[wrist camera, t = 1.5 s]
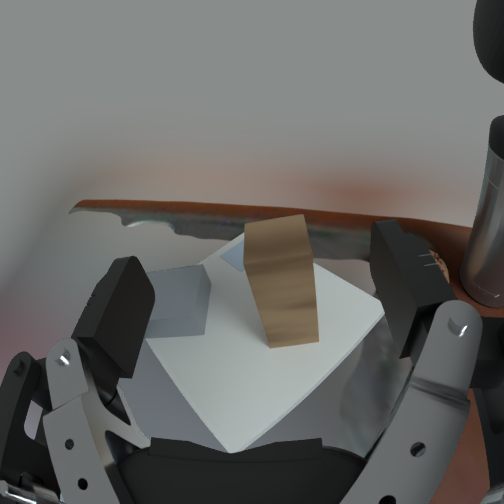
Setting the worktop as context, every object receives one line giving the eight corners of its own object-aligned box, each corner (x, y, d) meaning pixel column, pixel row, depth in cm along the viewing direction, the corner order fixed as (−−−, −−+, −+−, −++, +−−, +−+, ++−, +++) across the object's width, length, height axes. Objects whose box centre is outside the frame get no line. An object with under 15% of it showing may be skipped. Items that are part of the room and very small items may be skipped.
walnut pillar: (268, 310, 33) (244, 223, 25) (313, 304, 32) (303, 214, 24) (270, 348, 29) (243, 263, 21) (319, 341, 28) (312, 252, 21)
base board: (251, 232, 46) (245, 208, 43) (386, 311, 30) (392, 284, 27) (130, 315, 38) (114, 294, 35) (232, 457, 22) (217, 448, 19)
